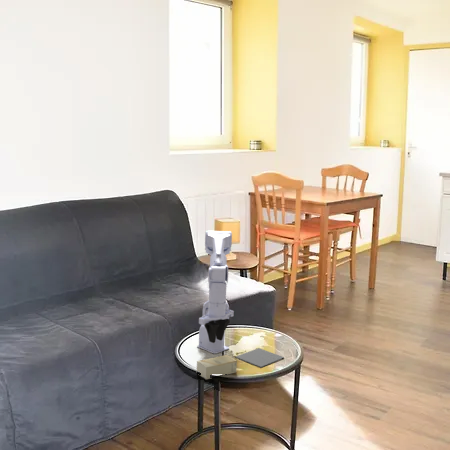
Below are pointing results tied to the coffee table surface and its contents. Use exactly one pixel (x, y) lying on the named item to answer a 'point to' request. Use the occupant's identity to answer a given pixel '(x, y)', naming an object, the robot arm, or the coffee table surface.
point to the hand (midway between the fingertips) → (215, 340)
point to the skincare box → (217, 366)
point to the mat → (259, 357)
